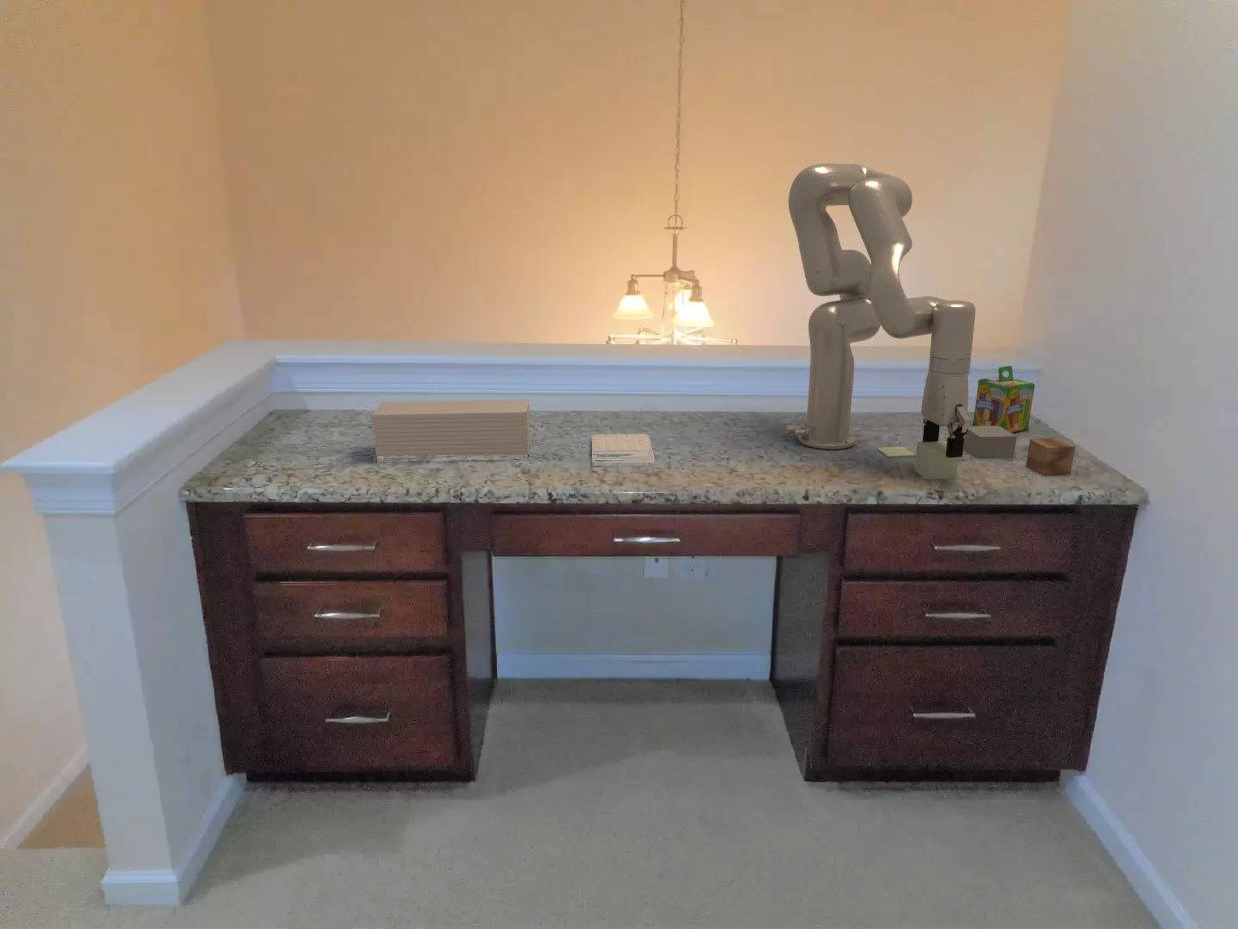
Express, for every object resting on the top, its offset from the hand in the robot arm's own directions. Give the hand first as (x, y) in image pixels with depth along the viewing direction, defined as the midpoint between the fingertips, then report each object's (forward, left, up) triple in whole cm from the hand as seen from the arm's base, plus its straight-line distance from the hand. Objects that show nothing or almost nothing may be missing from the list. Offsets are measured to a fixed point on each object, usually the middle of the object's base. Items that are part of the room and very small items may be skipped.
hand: (941, 450), depth 172 cm
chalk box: (+31, +30, -6) cm, 43 cm away
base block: (+18, +13, -6) cm, 22 cm away
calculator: (-61, +24, -6) cm, 66 cm away
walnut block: (+24, 0, -5) cm, 24 cm away
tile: (-2, +15, -5) cm, 16 cm away
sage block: (0, +1, -5) cm, 5 cm away
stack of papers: (-97, +28, -6) cm, 102 cm away
